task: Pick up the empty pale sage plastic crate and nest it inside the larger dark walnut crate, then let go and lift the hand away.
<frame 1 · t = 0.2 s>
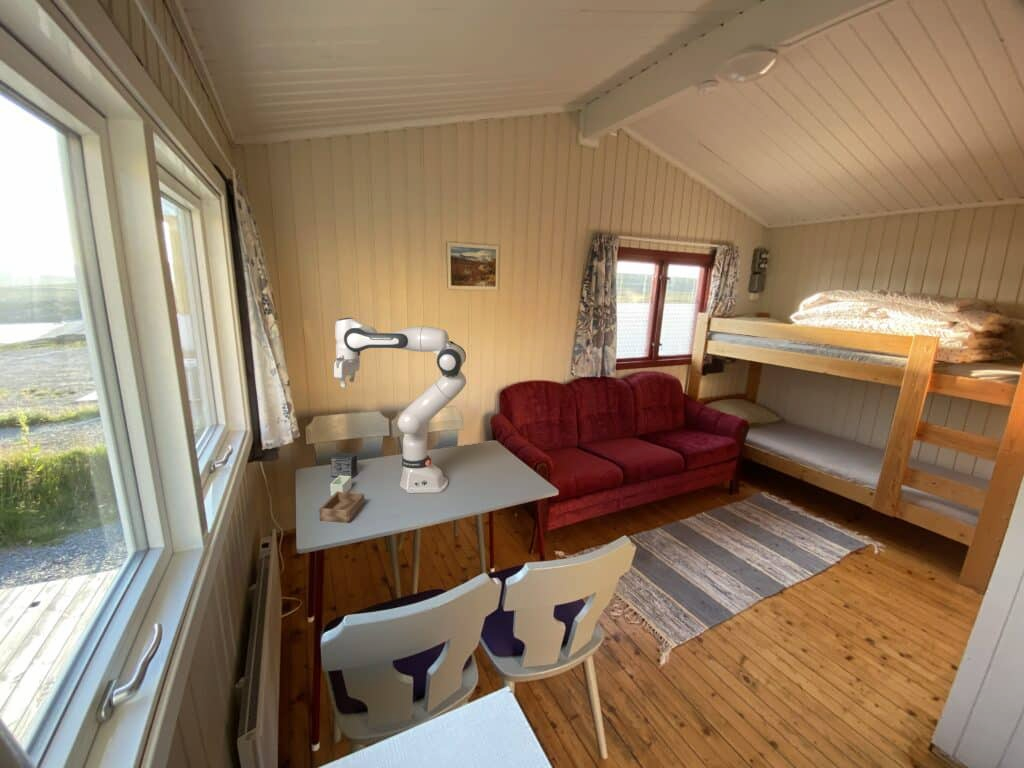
hand: (347, 384, 194), 47 cm above the table, fingers open, 8 cm apart
sage crate: (341, 492, 193), on the table
small box: (345, 475, 210), on the table
walnut crate: (343, 512, 177), on the table
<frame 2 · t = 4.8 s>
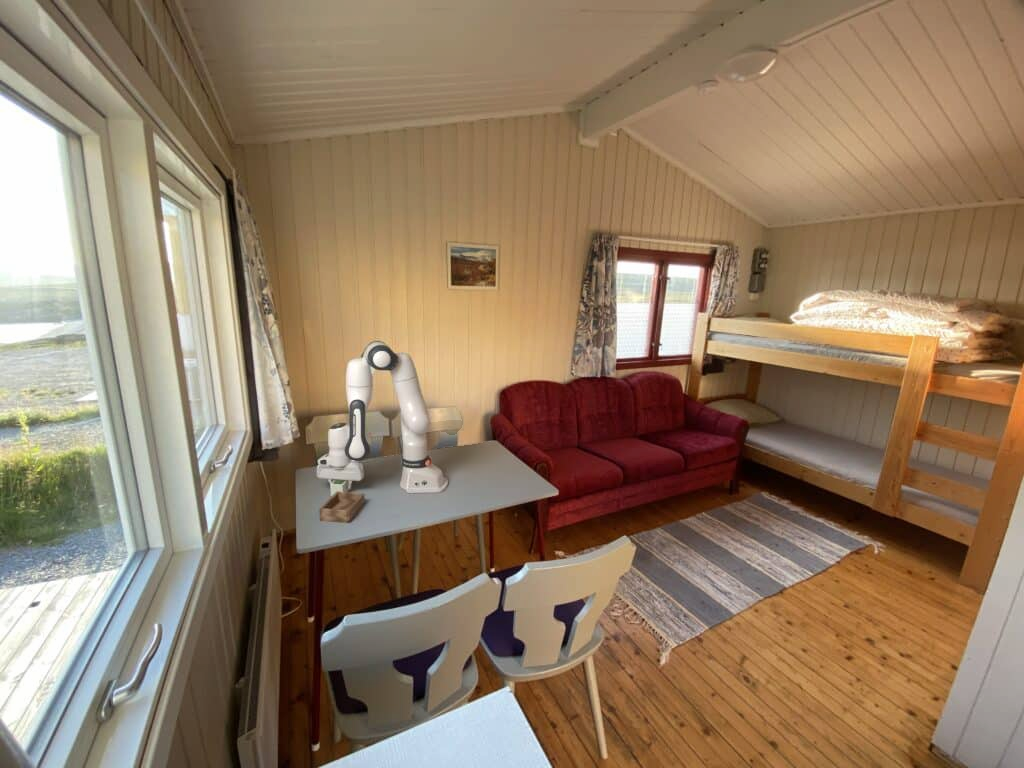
hand: (341, 487, 192), 2 cm above the table, fingers closed on sage crate, 5 cm apart
sage crate: (341, 492, 193), on the table, touching gripper
everything else where it was.
when the fingers open (6 cm above the table, at t = 11.6 s): sage crate drops 3 cm, resting on walnut crate.
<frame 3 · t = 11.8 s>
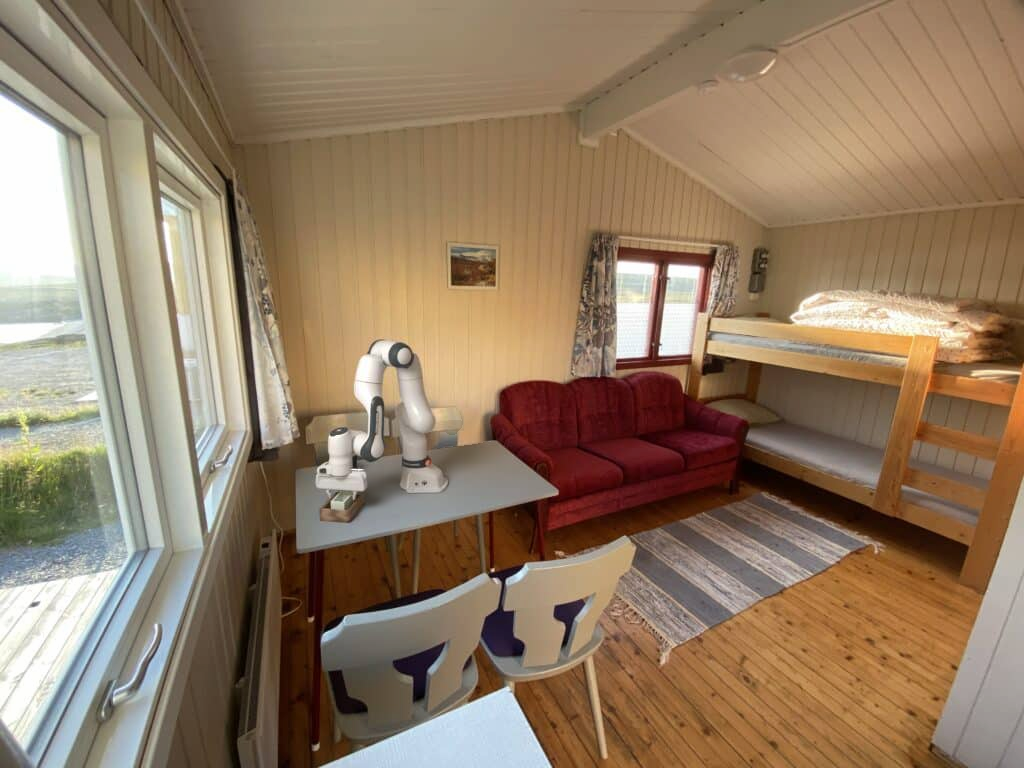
hand: (342, 498, 175), 6 cm above the table, fingers open, 8 cm apart
sage crate: (343, 509, 177), point 1 cm above the table, touching walnut crate
everything else where it was.
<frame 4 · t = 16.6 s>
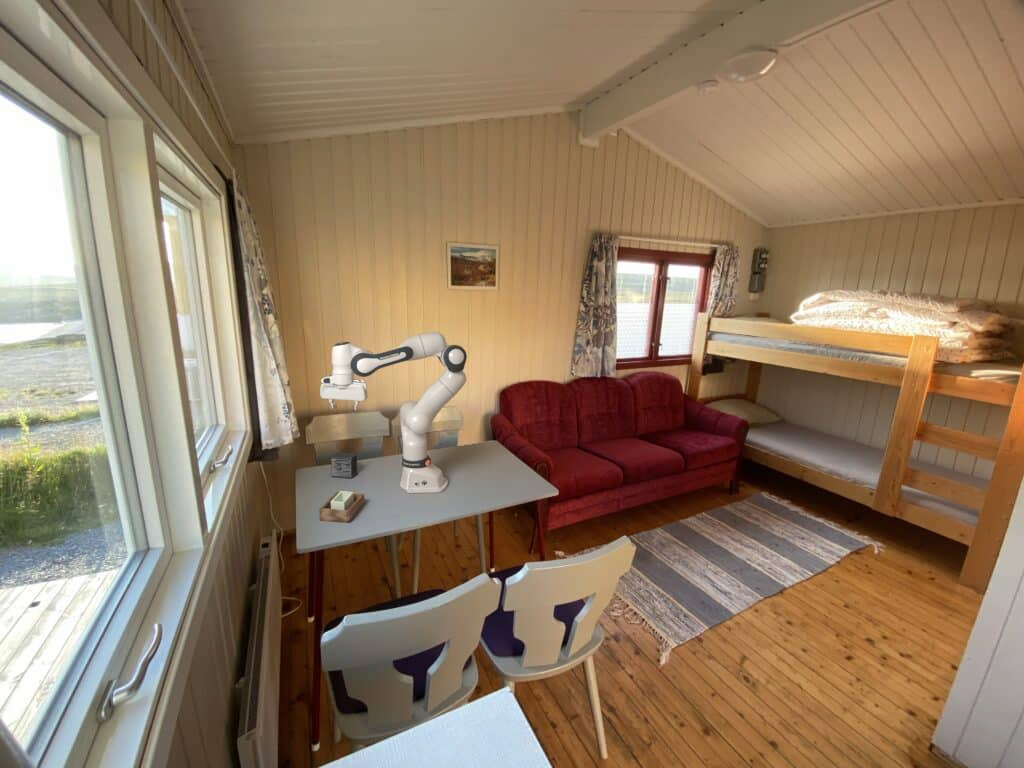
hand: (344, 409, 191), 37 cm above the table, fingers open, 8 cm apart
nothing on the table moved.
at the end: sage crate 0.0 cm off-centre on the walnut crate, point 1.0 cm above the walnut crate's base; sage crate tilted 0°; the gripper is holding nothing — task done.
